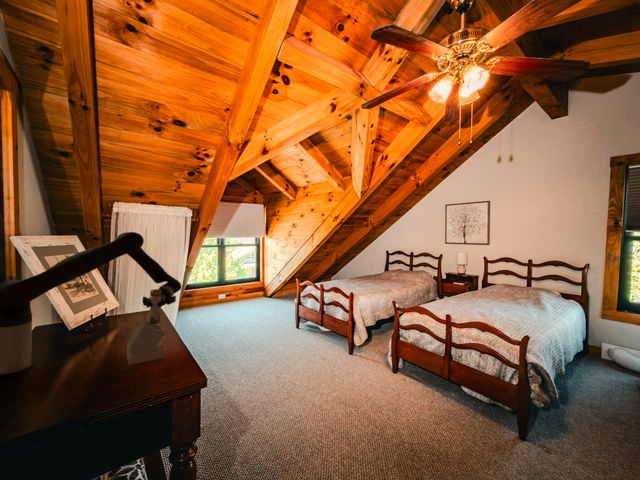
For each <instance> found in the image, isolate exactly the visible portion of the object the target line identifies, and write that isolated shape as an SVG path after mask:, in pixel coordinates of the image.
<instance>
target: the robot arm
mask: <svg viewBox="0 0 640 480" xmlns="http://www.w3.org/2000/svg"><path fill="white" fill-rule="evenodd" d="M144 241H145V240H144V237H143V236H142V234H141V233H138V232H135V231H127V232H122V233H121V234H119V235H118V236H116V239H115V240H113V241H112V240H111V242H108V243H106V244H102V245H100V246H99V245H98V246H95V247H92V248H88V249H85V250H82V251H80V252H78V253H75V254H73V255H72V254H71V255H70V256H67V257H66V258H63V259H61V260H59V261H58V262H57V263H55V264H54V265H52V266H51V267H49V268H48V269H46V270H45V271H43V272H40V273H38V274H35V275H33V276H29V277H27V278H24V279H9V280H5V281H3V282H2V283H0V375H8V374H14V373H18V372H20V371H24V370H26V369H28V368H29V367H31V366H32V348H33V347H32V344H33V343H32V342H33V341H32V340H33V339H32V336H33V334H32V333H33V331H32V330H33V313H32V308H31V302H32V301H33V300H35V299H37V298H39V297H41V296H42V295H44V294H46V293H47V292H49V291H51V290H53V289H55V288H57V287H59V286H62V285H64V284H67V283H69V282H72V281H73V280H76V279H78V278H80V277H82V276H85V275H87V274H89V273H90V272H93V271H95V270H96V269H98V268H101V267H102V266H104V265H106V264H108V263H110V262H111V261H113V260H115V259H117V258H119V257H121V256H125V255H128V256H129V257H130V258H131V259H132V260H134V262H135V263H137V264H138V266H139V267H140V268H141V269H143V271H144V272H145V273H146V274H147V275H148V276H149V278H150V279H151V280H152V281H153V282H154V283H155V284H162V283H164V282H166V283H164V284H162V285H160V286H159V287H158V289H160V290H161V301H160V302H159V307H161V308H162V307H163V306H166V305H171V304H174V303H176V301H177V296H176V295H175V293H178V292H179V291H181V289H182V284H181V281H179V280H178V279H176V278H175V277H173V276H172V275H170V274H169V273H168V272H167V271H165V269H164V268H163V266H162V265H161V264H159V263H158V261H156V260H155V259H153V257H151V256H150V255H149V254H148V253H146V251H145V250H144V249H143V248H142V247H143V245H144ZM142 305H143V306H145V307H146V308H150V297H146V296H142Z"/></svg>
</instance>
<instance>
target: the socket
mask: <svg viewBox="0 0 640 480" xmlns="http://www.w3.org/2000/svg"><path fill="white" fill-rule="evenodd" d="M165 333H166V332H165V330H164V328H163V326H161V325H159V324H150V321H149V320H145V319H141V321H140V323H139V324H138V326H137V327H136V329H135V330H134V332H133V333H132V335H131V336H130V338H129V340H128V341H127V343H126V346H127V348H126V359H127V364H128V366H131V365H132V366H133V365H137V364H141V363H146V362H151V361H156V360H160V359H165V358H166V356H167V354H166V353H167V352H166V351H167V350H166V349H165V344H164V342H163V341H162V338H163V337H164V335H165Z"/></svg>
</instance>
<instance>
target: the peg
mask: <svg viewBox="0 0 640 480" xmlns="http://www.w3.org/2000/svg"><path fill="white" fill-rule="evenodd" d="M149 293H150V295H149V298H150V307H149V322H150V324H156V325H159V324H160V323H161V321H162V318H161V316H162V307H159V302H160V301H161V290H160V289H159V288H157V289H156V288H155V289H150V290H149Z"/></svg>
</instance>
